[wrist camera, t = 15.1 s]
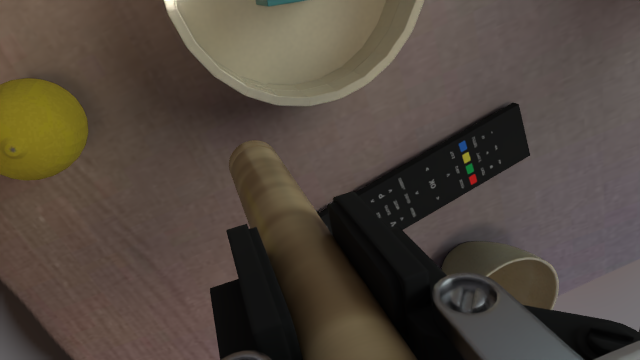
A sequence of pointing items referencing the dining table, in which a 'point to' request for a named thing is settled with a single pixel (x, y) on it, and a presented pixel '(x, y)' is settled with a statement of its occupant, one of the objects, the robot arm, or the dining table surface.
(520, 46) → the dining table surface
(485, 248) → the flower pot
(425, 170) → the remote control
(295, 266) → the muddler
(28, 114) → the lemon
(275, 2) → the block
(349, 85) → the bowl
